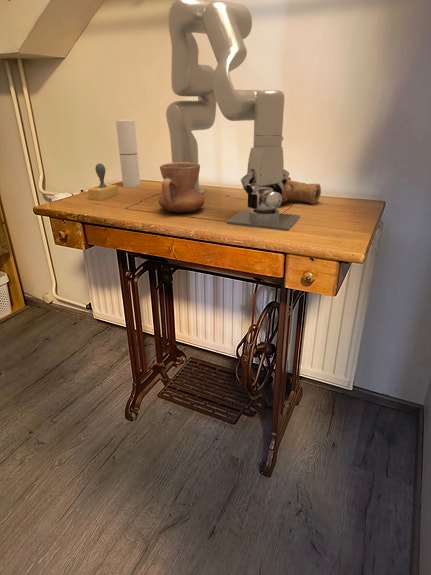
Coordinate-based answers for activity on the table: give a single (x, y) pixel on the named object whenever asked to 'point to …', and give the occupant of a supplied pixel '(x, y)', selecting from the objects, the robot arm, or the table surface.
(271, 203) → the grey rounded piece
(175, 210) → the ceramic jug
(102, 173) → the rubber stamp
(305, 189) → the clay pipe
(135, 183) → the cylindrical container
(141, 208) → the table surface
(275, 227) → the flange
